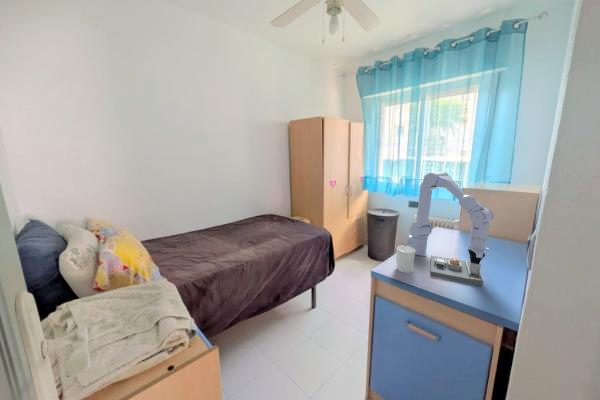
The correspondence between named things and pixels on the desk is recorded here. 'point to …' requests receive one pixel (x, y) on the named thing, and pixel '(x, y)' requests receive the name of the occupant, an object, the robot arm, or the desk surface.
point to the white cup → (405, 258)
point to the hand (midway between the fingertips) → (474, 266)
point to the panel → (454, 271)
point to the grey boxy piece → (474, 268)
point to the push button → (454, 261)
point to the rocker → (440, 261)
